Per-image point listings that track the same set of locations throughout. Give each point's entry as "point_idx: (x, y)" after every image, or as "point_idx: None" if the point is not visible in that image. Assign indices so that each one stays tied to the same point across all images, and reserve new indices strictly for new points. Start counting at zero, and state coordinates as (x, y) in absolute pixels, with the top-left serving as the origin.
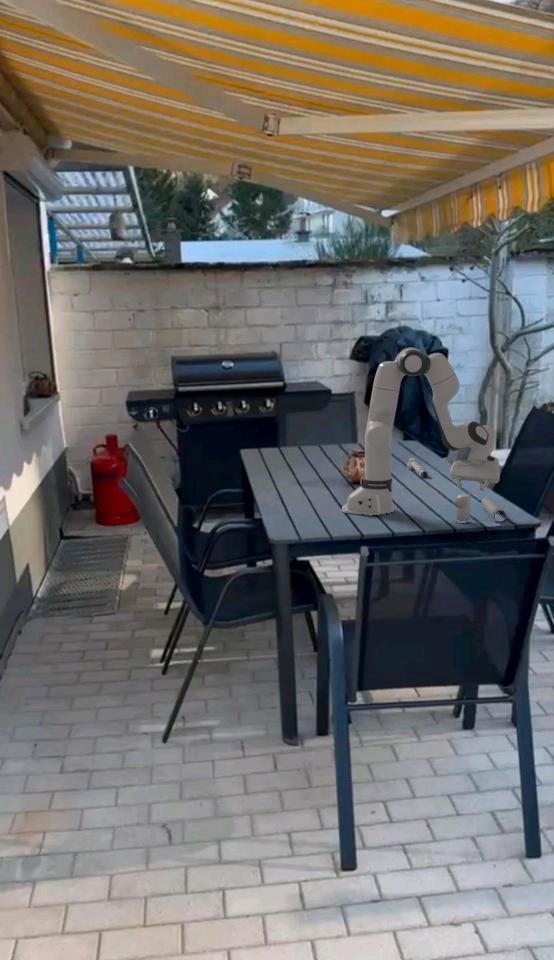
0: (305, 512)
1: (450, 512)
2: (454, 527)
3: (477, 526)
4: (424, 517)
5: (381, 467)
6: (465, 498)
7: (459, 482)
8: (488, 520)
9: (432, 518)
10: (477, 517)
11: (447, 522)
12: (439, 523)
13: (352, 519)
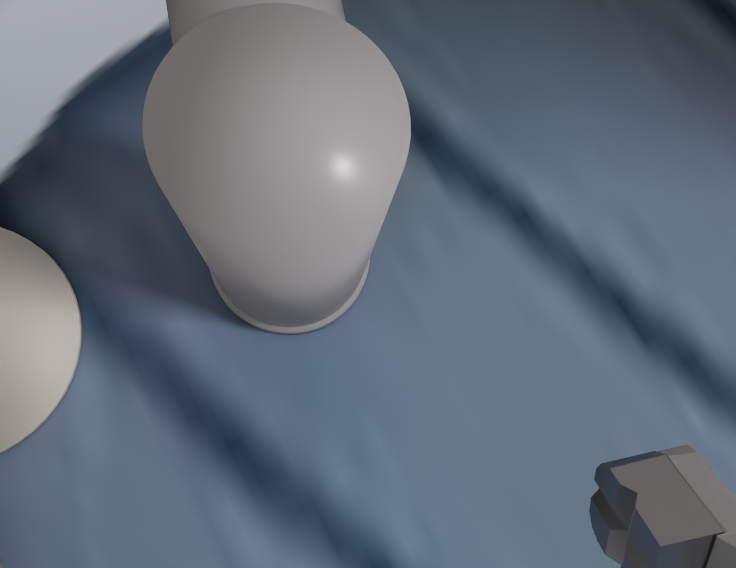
0: None
1: None
2: None
3: (73, 191)
4: (706, 171)
5: None
6: (197, 38)
7: (729, 544)
8: (70, 511)
9: (623, 186)
10: (248, 552)
11: (416, 142)
12: (460, 63)
13: None
